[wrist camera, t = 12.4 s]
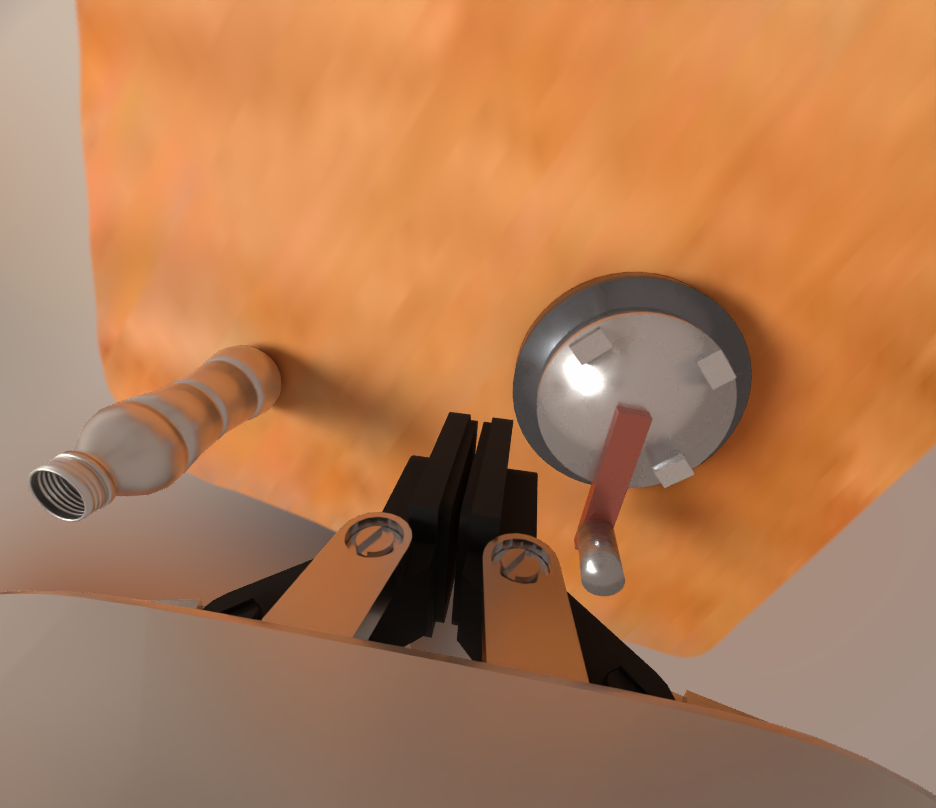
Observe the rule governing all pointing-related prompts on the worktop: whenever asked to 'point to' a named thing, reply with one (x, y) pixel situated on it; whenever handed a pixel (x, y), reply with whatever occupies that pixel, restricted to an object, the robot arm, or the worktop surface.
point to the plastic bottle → (156, 434)
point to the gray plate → (611, 296)
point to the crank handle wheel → (631, 416)
